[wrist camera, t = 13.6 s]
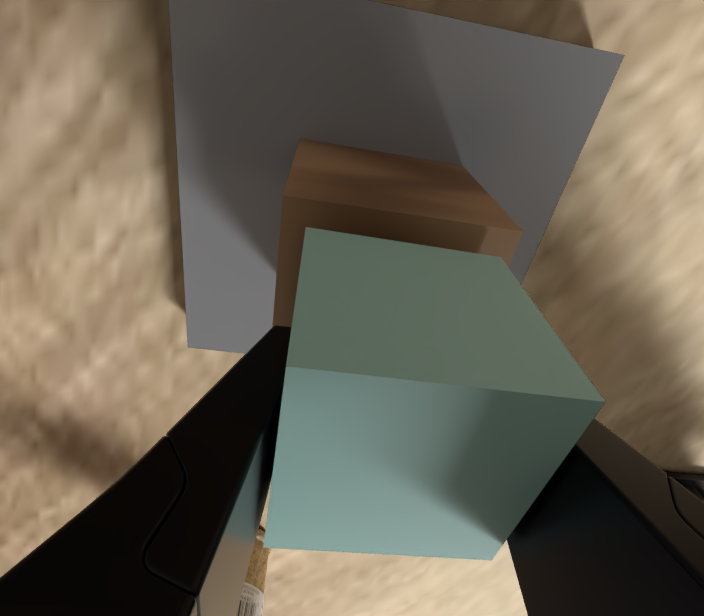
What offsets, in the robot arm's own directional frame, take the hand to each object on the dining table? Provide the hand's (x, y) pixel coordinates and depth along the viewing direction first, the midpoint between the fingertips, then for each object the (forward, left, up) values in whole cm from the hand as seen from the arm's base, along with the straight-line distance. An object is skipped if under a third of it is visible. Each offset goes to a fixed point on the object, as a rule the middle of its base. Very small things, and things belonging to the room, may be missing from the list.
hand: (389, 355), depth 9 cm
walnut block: (0, 0, -6) cm, 6 cm away
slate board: (0, 0, -8) cm, 8 cm away
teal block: (0, 0, -1) cm, 1 cm away
